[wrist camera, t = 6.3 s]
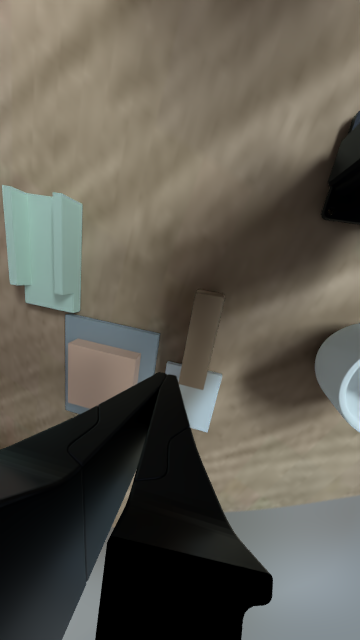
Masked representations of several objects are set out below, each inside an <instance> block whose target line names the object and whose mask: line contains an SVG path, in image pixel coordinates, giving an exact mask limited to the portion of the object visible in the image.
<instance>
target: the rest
mask: <svg viewBox="0 0 360 640" xmlns="http://www.w3.org/2000/svg"><path fill="white" fill-rule="evenodd" d="M2 192H3V204H4V217H5V229H6V241H7V253H8V265H9V278H10V284H12V285H17V286H18V285H25V299H26V303H30V304H34V305H39V306H43V307H48V308H52V309H57V310H61V311H66V312H71V313H75V312H79V311H80V293H81V247H82V204H81V203H79V202H77V201H75V200H73V199H71V198H70V197H68V196H66V195H64V194H62V193H55V192H53V197H49V196H42V195H35V194H28V193H25V192H23V191H20V190H18V189H16V188H13V187H11V186H4V185H2Z"/></svg>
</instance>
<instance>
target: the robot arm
mask: <svg viewBox="0 0 360 640" xmlns="http://www.w3.org/2000/svg"><path fill="white" fill-rule="evenodd" d="M328 184H329V187H330V188H329V191H328V194H327V197H326V200H325V203H324V206H323V209H322V213H321V216H322V218H323V219H325V220H329V221H337V222H344V223H352V224H359V225H360V111H359V112H358V113H357V114H356V115H355V116H354V118H353V120H352V123H351V126H350V129H349V132H348V135H347V136H346V137H345V138H344V139H343V140H342V142H341V145H340V148H339V151H338V154H337V157H336V160H335V163H334V166H333V169H332V172H331V175H330V178H329V181H328ZM329 209H332V211H333V213H332V215H330V214H329V213H328V210H329ZM136 469H137V470H136ZM135 471H136V474H135ZM134 474H135V477H134V481H133V485H132V488H131V492H130V495H129V498H128V501H127V504H126V506H125V508H124V510H123V512H122V514H121V516H120V518H119V520H118V522H117V524H116V526H115V528H114V530H113V532H112V534H111V536H110V538H109V540H108V542H107V549H106V556H105V565H104V573H103V581H102V589H101V598H100V606H99V614H98V622H97V630H96V638H95V640H241V635H242V623H243V617H244V614H245V612H246V611H247V610H248V609H249V608H251V607H253V606H260V605H261V606H262V605H266V604H268V603H269V602H270V601H271V598H272V587H273V578H272V576H271V574H270V573H269V572H268V571H267V570H266V569H265V568H264V567H263V566H262V564H261V563H260V562H259V561H258V560H257V559H256V558H255V557H254V555H253V554H252V553H251V552H250V551H249V550H248V549H247V548H246V546H245V545H244V544H243V543H242V542H241V541H240V539H239V538H238V537H237V535H236V534H235V533H234V531H233V529H232V528H231V526H230V524H229V522H228V521H227V519H226V517H225V515H224V512H223V510H222V508H221V505H220V503H219V501H218V498H217V496H216V494H215V491H214V489H213V487H212V484H211V482H210V480H209V477H208V475H207V473H206V470H205V468H204V466H203V463H202V461H201V458H200V455H199V453H198V450H197V447H196V444H195V441H194V438H193V434H192V431H191V428H190V424H189V420H188V416H187V413H186V409H185V405H184V401H183V398H182V394H181V390H180V387H179V383H178V379H177V376H176V375H171V374H168V375H167V374H166V373H161V372H158V373H156V374H154V375H152V376H151V377H149V378H147V379H145V380H143V381H141V382H139V383H138V384H136V385H134V386H132V387H130V388H128V389H126V390H125V391H123V392H121V393H119V394H117V395H115V396H113V397H112V398H110V399H108V400H106V401H104V402H102V403H100V404H99V405H97V406H95V407H93V408H91V409H89V410H87V411H85V412H83V413H81V414H79V415H77V416H75V417H73V418H71V419H69V420H67V421H65V422H63V423H60V424H58V425H56V426H54V427H52V428H49V429H47V430H45V431H42V432H40V433H38V434H36V435H33V436H31V437H29V438H27V439H24V440H22V441H20V442H18V443H15V444H13V445H11V446H8V447H6V448H3V449H1V450H0V640H62V638H63V636H64V634H65V631H66V629H67V627H68V625H69V622H70V620H71V618H72V615H73V613H74V611H75V608H76V606H77V604H78V602H79V600H80V597H81V595H82V593H83V590H84V588H85V586H86V582H87V581H88V579H89V576H90V574H91V572H92V570H93V567H94V565H95V563H96V560H97V558H98V556H99V554H100V551H101V549H102V547H103V544H104V542H105V540H106V538H107V535H108V533H109V531H110V529H111V526H112V524H113V522H114V519H115V517H116V515H117V513H118V510H119V508H120V506H121V503H122V501H123V499H124V497H125V494H126V492H127V490H128V487H129V485H130V483H131V481H132V478H133V476H134Z"/></svg>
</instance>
